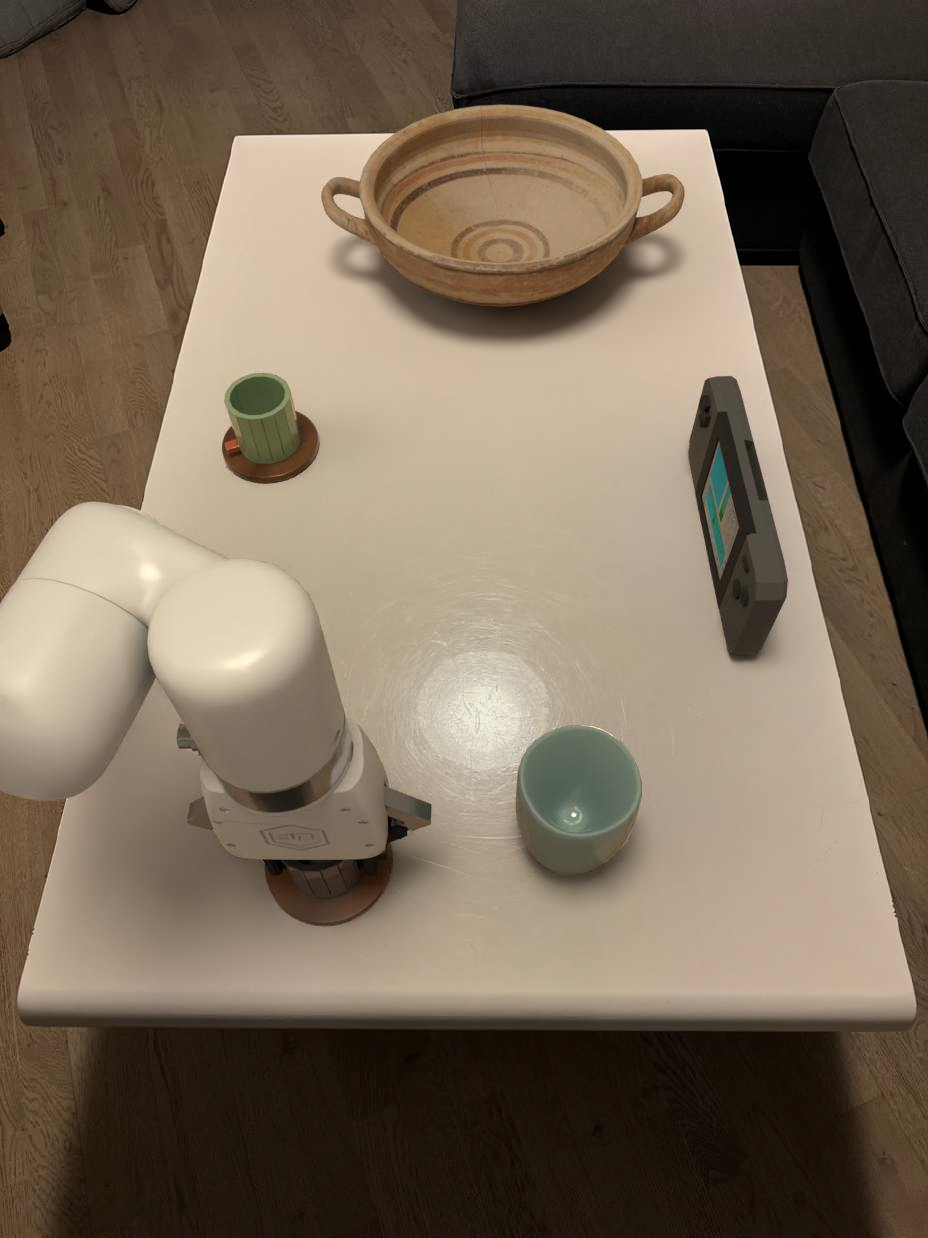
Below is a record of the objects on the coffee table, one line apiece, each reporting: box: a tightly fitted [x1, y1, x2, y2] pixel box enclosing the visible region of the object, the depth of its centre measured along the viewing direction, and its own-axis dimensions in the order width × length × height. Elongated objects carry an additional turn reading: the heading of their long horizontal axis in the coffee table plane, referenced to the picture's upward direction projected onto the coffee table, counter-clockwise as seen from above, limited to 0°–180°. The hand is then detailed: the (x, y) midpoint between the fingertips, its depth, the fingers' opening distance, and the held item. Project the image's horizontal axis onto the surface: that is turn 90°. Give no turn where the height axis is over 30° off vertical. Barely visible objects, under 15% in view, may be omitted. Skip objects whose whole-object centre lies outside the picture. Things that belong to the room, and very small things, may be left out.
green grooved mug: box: [223, 372, 301, 464], centre depth 86 cm, size 6×7×6 cm
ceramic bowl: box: [320, 104, 686, 307], centre depth 99 cm, size 37×29×10 cm
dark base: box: [263, 842, 394, 927], centre depth 66 cm, size 9×9×1 cm
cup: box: [515, 724, 643, 876], centre depth 63 cm, size 8×8×10 cm
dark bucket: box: [279, 859, 365, 899], centre depth 64 cm, size 6×7×6 cm
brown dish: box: [221, 410, 320, 484], centre depth 88 cm, size 9×9×1 cm
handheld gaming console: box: [688, 375, 789, 655], centre depth 77 cm, size 23×3×10 cm, turn 1°
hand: (326, 853), depth 65 cm, fingers closed on dark bucket, 5 cm apart
